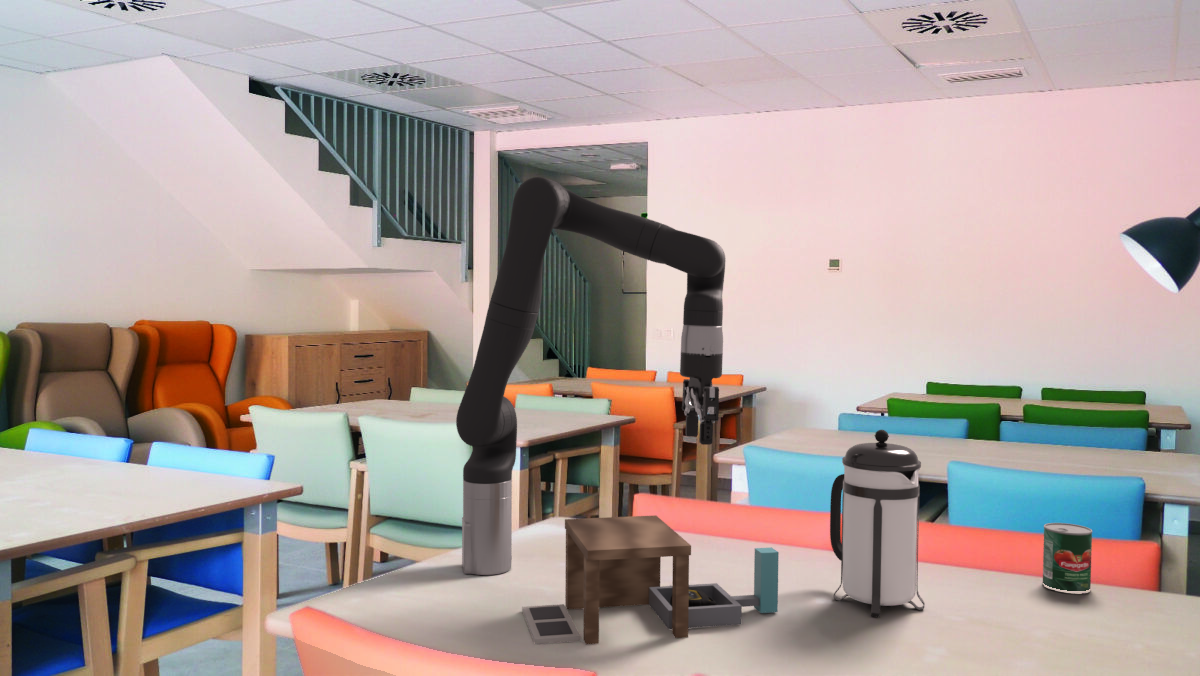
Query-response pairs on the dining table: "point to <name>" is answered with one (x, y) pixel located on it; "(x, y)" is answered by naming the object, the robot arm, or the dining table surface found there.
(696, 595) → the tape measure
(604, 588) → the small wooden table
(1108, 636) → the dining table surface
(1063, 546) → the canned tomato
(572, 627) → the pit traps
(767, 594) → the slider
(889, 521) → the coffee press
